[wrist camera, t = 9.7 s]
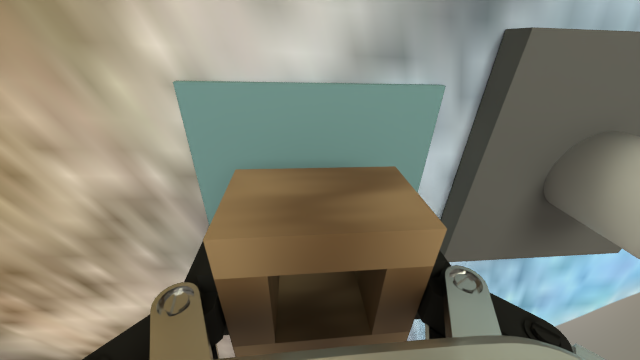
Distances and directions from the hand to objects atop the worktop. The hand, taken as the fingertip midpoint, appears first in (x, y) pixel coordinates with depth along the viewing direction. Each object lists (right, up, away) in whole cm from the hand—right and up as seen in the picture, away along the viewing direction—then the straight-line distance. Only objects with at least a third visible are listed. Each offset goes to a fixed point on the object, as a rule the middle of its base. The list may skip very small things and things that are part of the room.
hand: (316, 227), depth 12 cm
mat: (0, +2, +3) cm, 4 cm away
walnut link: (0, 0, 0) cm, 0 cm away
